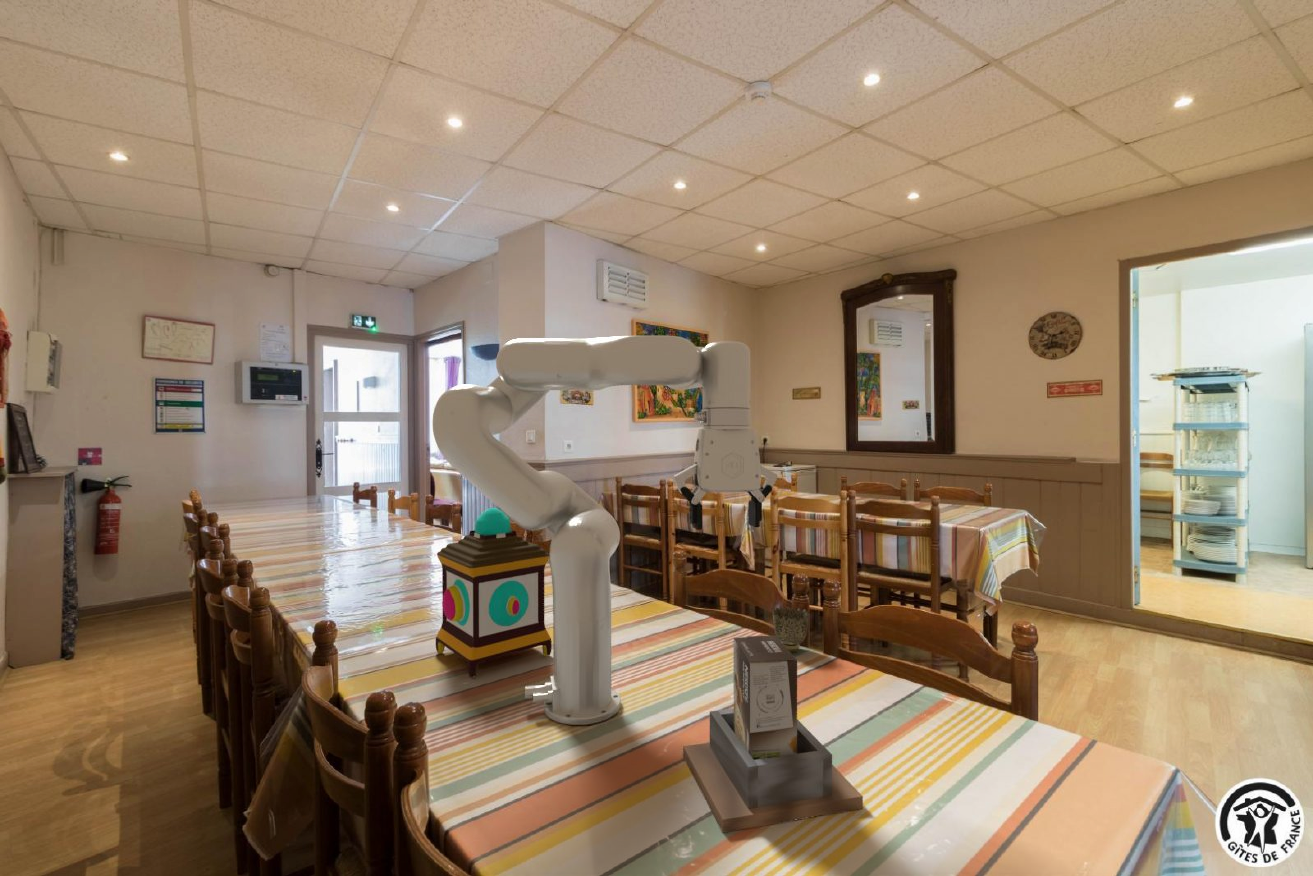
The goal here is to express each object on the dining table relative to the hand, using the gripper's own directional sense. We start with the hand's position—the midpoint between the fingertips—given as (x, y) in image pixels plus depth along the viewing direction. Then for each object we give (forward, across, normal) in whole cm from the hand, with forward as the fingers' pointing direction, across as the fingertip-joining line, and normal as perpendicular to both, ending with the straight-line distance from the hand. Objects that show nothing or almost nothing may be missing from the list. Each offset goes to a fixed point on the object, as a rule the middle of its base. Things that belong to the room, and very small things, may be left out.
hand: (725, 527), depth 94 cm
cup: (+31, +23, +23) cm, 45 cm away
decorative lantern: (+31, -37, +35) cm, 59 cm away
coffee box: (+29, -1, -18) cm, 34 cm away
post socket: (+30, -1, -18) cm, 35 cm away
